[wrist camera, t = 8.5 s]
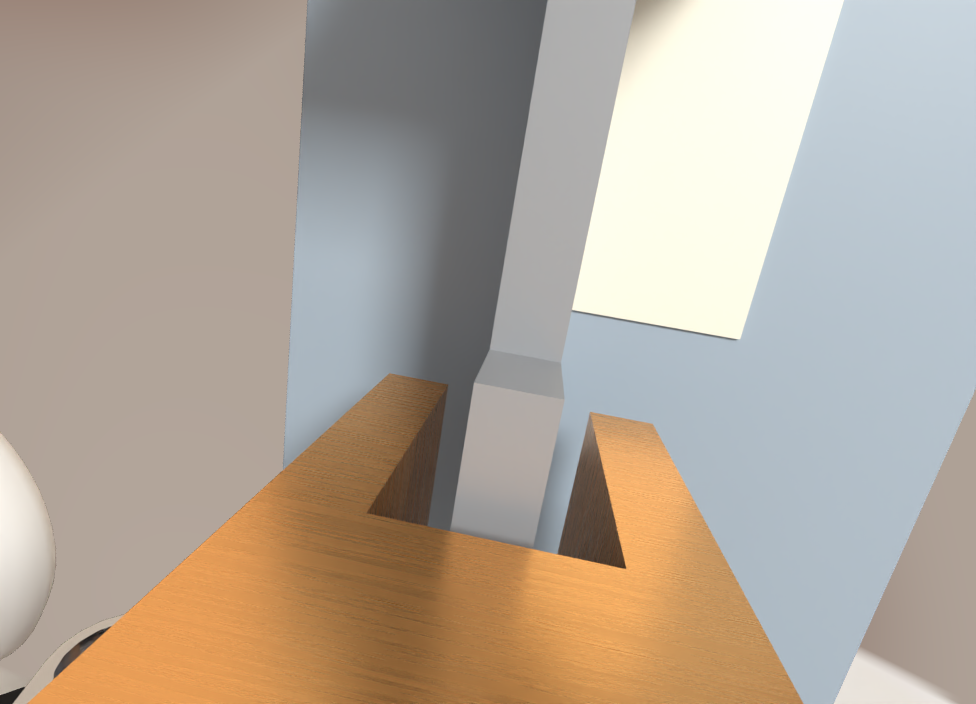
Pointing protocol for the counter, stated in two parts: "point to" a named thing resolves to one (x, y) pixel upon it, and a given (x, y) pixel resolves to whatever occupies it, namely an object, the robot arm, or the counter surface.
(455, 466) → the rail
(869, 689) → the counter surface
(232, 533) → the clip
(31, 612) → the flower in vase
